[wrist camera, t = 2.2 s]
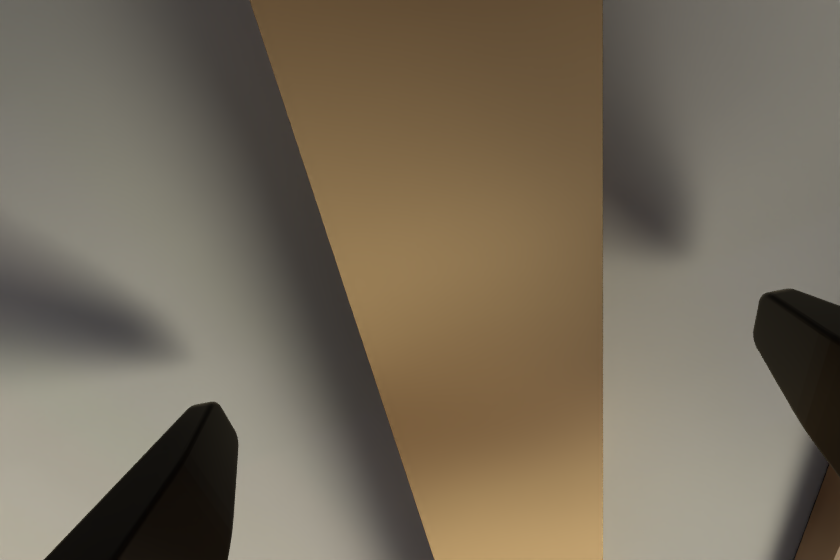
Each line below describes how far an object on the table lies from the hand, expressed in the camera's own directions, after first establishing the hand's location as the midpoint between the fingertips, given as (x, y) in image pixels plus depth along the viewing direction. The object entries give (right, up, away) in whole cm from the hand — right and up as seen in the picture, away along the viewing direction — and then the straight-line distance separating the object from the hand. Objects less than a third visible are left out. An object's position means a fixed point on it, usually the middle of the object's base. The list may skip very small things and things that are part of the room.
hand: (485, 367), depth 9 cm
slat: (0, +1, +1) cm, 2 cm away
